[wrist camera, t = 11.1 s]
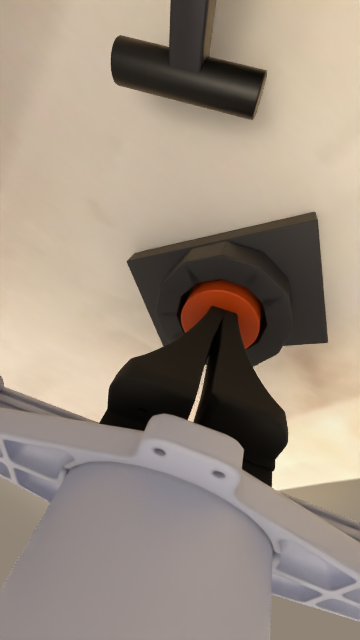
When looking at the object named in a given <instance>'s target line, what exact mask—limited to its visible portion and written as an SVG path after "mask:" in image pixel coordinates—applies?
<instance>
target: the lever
mask: <svg viewBox="0 0 360 640" xmlns="http://www.w3.org/2000/svg"><path fill="white" fill-rule="evenodd" d="M215 7H216V0H171V6H170V39H169V47H167V46H163V45H159V44H154V43H150V42H146V41H142V40H138V39H134V38H129V37H125V36H121V35H120V36H118V37H117V38H116V39H115V41H114V43H113V47H112V52H111V71H112V76H113V80H114V82H115V83H116V84H117V85H119V86H123V87H127V88H130V89H134V90H138V91H142V92H146V93H150V94H154V95H157V96H161V97H165V98H169V99H173V100H177V101H181V102H185V103H188V104H192V105H196V106H200V107H204V108H208V109H212V110H215V111H219V112H223V113H227V114H231V115H235V116H239V117H243V118H246V119H250V120H253V119H254V117H255V115H256V112H257V109H258V106H259V102H260V99H261V96H262V92H263V89H264V85H265V81H266V77H267V71H266V70H262V69H258V68H254V67H250V66H246V65H242V64H237V63H233V62H229V61H225V60H221V59H217V58H213V57H209V55H210V47H211V39H212V31H213V23H214V15H215Z"/></svg>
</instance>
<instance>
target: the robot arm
mask: <svg viewBox="0 0 360 640" xmlns="http://www.w3.org/2000/svg"><path fill="white" fill-rule="evenodd" d="M208 356H209V358H208ZM207 359H208V363H207V368H206V374H205V379H204V385H203V390H202V394H201V398H200V402H199V405H198V409H197V412H196V415H195V419H194V422H191V421H188V417H189V415H190V412H191V409H192V407H193V404H194V401H195V398H196V395H197V392H198V388H199V384H200V380H201V376H202V372H203V369H204V366H205V363H206V361H207ZM287 443H288V427H287V421H286V415H285V412H284V410H283V409H282V408H281V407H280V406H279V405H278V404H277V402H276V401H275V400H274V399H273V398H272V397H271V395H270V394H269V393H268V391H267V390H266V389H265V387H264V386H263V384H262V383H261V381H260V379H259V378H258V376H257V374H256V373H255V371H254V369H253V367H252V365H251V363H250V360H249V358H248V355H247V353H246V350H245V347H244V344H243V340H242V337H241V333H240V328H239V323H238V315H237V313H234V312H231V311H228V310H225V309H222V308H218V307H215V306H211V307H210V308H209V310H208V311H207V313H206V314H205V315H204V316H203V317H202V319H201V320H199V321H198V322H197V323H196V324H195V325H194V326H193V327H192V328H191V329H190V330H188V331H187V332H186V333H185V334H183V335H182V336H181V337H179V338H178V339H176V340H174V341H173V342H171V343H169V344H168V345H166V346H164V347H162V348H160V349H157V350H155V351H153V352H150V353H148V354H145V355H142V356H138V357H135V358H131V359H130V360H129V361H128V362H127V363H126V364H125V365H124V366H123V368H122V369H121V370H120V371H119V372H118V374H117V375H116V377H115V378H114V380H113V382H112V383H111V385H110V388H109V394H108V409H107V411H106V412H105V414H104V416H103V418H102V419H101V421H100V423H98V422H95V421H93V420H90V419H87V418H85V417H82V416H79V415H77V414H74V413H72V412H69V411H66V410H64V409H61V408H58V407H56V406H53V405H51V404H48V403H45V402H43V401H40V400H37V399H35V398H32V397H30V396H27V395H24V394H22V393H19V392H16V391H14V390H11V389H8V388H6V387H4V382H3V379H2V377H1V376H0V476H1V477H3V478H5V479H7V480H8V481H10V482H12V483H14V484H16V485H18V486H19V487H21V488H23V489H25V490H27V491H28V492H30V493H32V494H34V495H36V496H38V497H39V498H41V499H43V500H45V501H47V502H49V503H50V505H49V506H48V508H47V510H46V512H45V513H44V515H43V517H42V518H41V520H40V522H39V523H38V525H37V527H36V529H35V530H34V532H33V534H32V536H31V537H30V539H29V541H28V543H27V544H26V546H25V548H24V549H23V551H22V553H21V555H20V556H19V558H18V560H17V561H16V563H15V565H14V567H13V569H12V570H11V572H10V573H9V575H8V577H7V579H6V580H5V582H4V584H3V586H2V587H1V589H0V640H270V628H271V625H270V624H271V595H275V596H278V597H281V598H285V599H288V600H291V601H294V602H298V603H301V604H304V605H308V606H311V607H315V608H318V609H321V610H324V611H328V612H331V613H334V614H337V615H340V616H344V617H346V618H350V619H353V620H356V621H359V622H360V522H358V521H355V520H353V519H350V518H347V517H345V516H342V515H339V514H337V513H334V512H331V511H329V510H326V509H323V508H321V507H318V506H316V505H313V504H310V503H308V502H305V501H303V500H300V499H297V498H295V497H292V496H289V495H287V494H284V493H281V492H279V491H276V490H274V489H273V488H272V471H274V469H275V459H276V458H277V457H278V455H279V454H280V453H281V452H282V451H283V449H284V448H285V447H286V445H287Z"/></svg>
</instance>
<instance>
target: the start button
mask: <svg viewBox="0 0 360 640" xmlns="http://www.w3.org/2000/svg"><path fill="white" fill-rule="evenodd" d="M211 306H215V307H218V308H222V309H225V310H228V311H231V312H234V313H237V315H238V323H239V328H240V333H241V337H242V340H243V344H244V347H245V349H246V348H248V347H249V346H250V345H251V344H252V343H253V342H254V341H255V340H256V338H257V336H258V333H259V329H260V321H261V311H262V303H261V302H260V301H259V300H258V299H257V298H256V297H255V296H254V295H253V294H252V293H251V292H250V291H249V290H248V289H247V287H244V286H241V285H238V284H235V283H232V282H229V281H225V280H222V279H218V280H212V281H206V282H200V283H197V284H196V285H194V286H193V288H192V290H191V292H190V294H189V296H188V299H187V301H186V303H185V305H184V307H183V309H182V313H181V323H182V327H183V329H184V332H185V333H186V332H187V331H188V330H190V329H191V328H192V327H193V326H194V325H195V324H196V323H197V322H198V321H199V320H201V319H202V317H203V316H204V315H205V314H206V313H207V311H208V310H209V308H210V307H211Z"/></svg>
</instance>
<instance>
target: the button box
mask: <svg viewBox="0 0 360 640" xmlns="http://www.w3.org/2000/svg"><path fill="white" fill-rule="evenodd" d="M127 264H128V266H129V268H130V270H131V273H132V275H133V277H134V280H135V282H136V284H137V287H138V289H139V291H140V293H141V296H142V298H143V300H144V303H145V305H146V307H147V309H148V312H149V314H150V316H151V319H152V321H153V323H154V326H155V328H156V330H157V332H158V335H159V337H160V339H161V342H162V344H163V346H166V345H168V344H169V343H171V342H173V341H174V340H176V339H178V338H179V337H181V336H182V335H183V334H185V332H184V329H183V327H182V323H181V313H182V309H183V307H184V305H185V303H186V301H187V299H188V296H189V294H190V292H191V290H192V288H193V286H194V285H196V284H197V283H200V282H206V281H212V280H218V279H222V280H225V281H229V282H232V283H235V284H238V285H241V286H244V287H247V289H248V290H249V291H250V292H251V293H252V294H253V295H254V296H255V297H256V298H257V299H258V300H259V301H260V302H261V303H262V311H261V321H260V329H259V333H258V336H257V338H256V340H255V341H254V342H253V343H252V344H251V345H250V346H249V347H248V348H246V349H245V350H246V353H247V355H248V358H249V360H250V363H251V365H252V367H253V366H255V365H257V364H259V363H261V362H263V361H265V360H267V359H269V358H271V357H273V356H274V355H276V354H278V353H279V351H280V350H281V348H282V346H288V345H302V344H317V343H327V342H328V337H327V325H326V313H325V302H324V290H323V278H322V266H321V254H320V242H319V230H318V220H317V216H316V213H315V212H313V213H309V214H304V215H300V216H296V217H291V218H287V219H282V220H278V221H274V222H269V223H265V224H260V225H256V226H252V227H247V228H243V229H239V230H234V231H230V232H225V233H221V234H217V235H212V236H208V237H204V238H199V239H195V240H190V241H186V242H182V243H177V244H173V245H169V246H164V247H160V248H155V249H151V250H147V251H142V252H138V253H134V254H133V255H132V256H131V257H130V258H129V259H128V261H127ZM208 358H209V356H208ZM207 363H208V359H207V361H206V363H205V364H206V365H207Z"/></svg>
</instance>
